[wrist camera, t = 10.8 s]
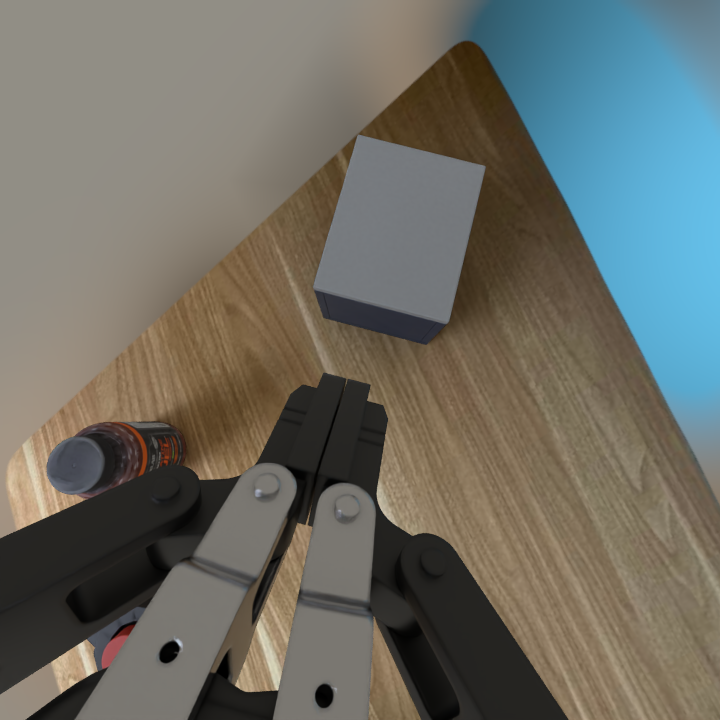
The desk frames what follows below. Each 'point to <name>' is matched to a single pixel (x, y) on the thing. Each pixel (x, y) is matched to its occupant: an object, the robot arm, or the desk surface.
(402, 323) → the lidded storage box
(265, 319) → the desk surface
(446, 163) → the lid
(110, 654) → the button
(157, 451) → the supplement bottle
